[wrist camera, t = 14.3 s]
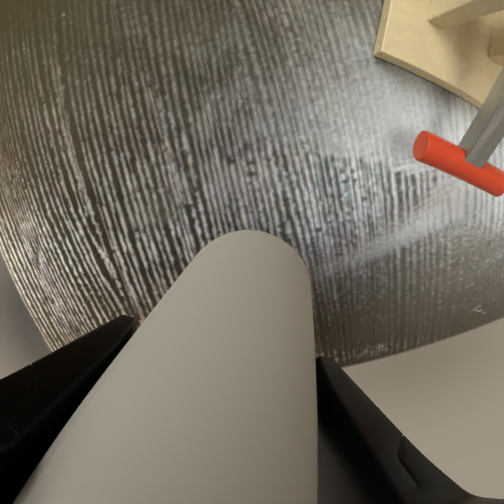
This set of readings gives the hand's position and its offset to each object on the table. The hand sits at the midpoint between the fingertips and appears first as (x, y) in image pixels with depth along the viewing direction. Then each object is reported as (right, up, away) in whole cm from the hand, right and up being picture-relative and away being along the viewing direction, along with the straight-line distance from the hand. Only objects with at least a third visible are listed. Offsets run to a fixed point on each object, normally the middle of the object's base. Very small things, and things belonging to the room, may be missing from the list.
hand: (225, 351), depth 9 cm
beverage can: (+1, +2, +5) cm, 5 cm away
